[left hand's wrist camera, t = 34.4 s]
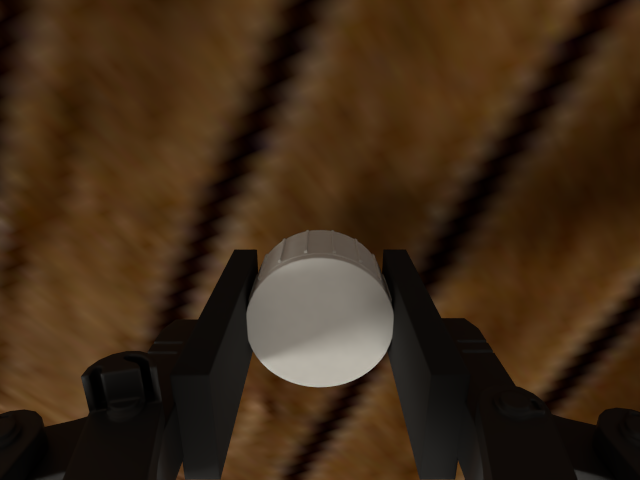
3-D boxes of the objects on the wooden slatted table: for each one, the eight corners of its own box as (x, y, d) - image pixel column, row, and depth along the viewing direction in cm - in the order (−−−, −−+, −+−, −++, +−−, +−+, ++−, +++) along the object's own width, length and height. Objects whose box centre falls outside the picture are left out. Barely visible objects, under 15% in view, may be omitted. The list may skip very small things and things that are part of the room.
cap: (297, 202, 13) (292, 226, 11) (410, 269, 14) (427, 304, 12) (232, 306, 15) (217, 347, 12) (339, 362, 16) (343, 410, 13)
